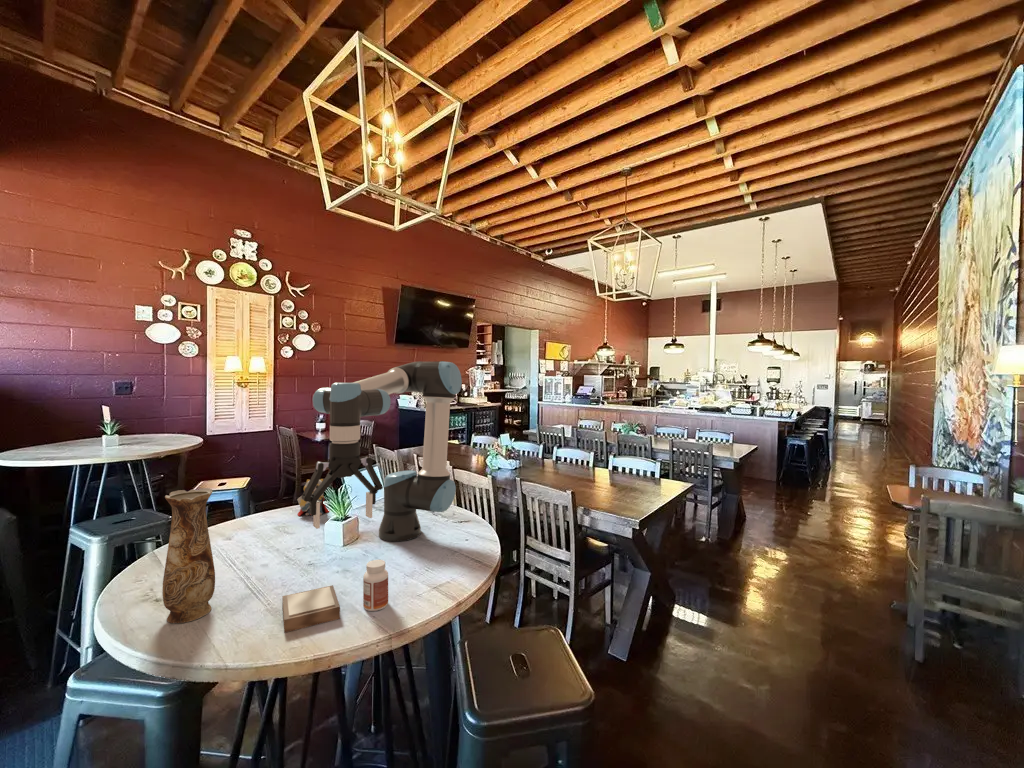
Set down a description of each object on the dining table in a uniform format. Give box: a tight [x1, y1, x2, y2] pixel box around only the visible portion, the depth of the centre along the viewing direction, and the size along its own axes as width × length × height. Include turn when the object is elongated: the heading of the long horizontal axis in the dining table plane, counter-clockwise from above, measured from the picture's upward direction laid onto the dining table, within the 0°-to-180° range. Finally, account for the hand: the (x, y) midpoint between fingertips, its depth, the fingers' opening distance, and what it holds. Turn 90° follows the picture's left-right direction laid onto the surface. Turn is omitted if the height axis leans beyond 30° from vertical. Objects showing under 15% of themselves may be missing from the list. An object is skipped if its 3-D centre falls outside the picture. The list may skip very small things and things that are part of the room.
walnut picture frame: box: [281, 585, 341, 634], centre depth 108 cm, size 12×12×3 cm
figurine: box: [297, 478, 330, 517], centre depth 182 cm, size 13×11×15 cm
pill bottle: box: [362, 559, 389, 612], centre depth 111 cm, size 6×6×11 cm
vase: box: [161, 487, 216, 624], centre depth 106 cm, size 10×11×30 cm
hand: (343, 521), depth 114 cm, fingers open, 13 cm apart
